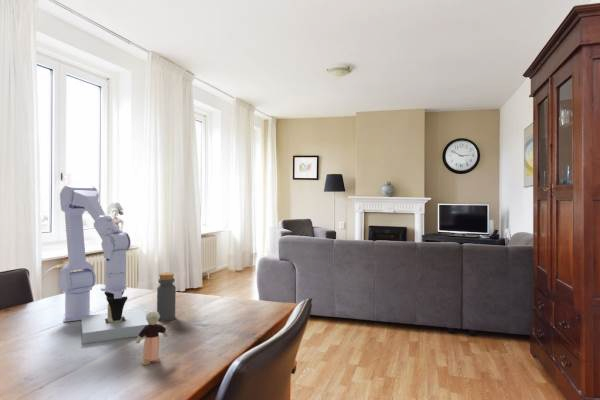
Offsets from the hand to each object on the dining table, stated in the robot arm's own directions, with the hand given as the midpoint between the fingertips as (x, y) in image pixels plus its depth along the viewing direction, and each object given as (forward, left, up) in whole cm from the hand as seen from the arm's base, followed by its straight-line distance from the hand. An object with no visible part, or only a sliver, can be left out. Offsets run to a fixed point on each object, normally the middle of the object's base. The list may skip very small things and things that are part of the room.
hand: (115, 317), depth 124 cm
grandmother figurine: (+30, +6, -4) cm, 31 cm away
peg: (0, 0, -4) cm, 4 cm away
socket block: (0, 0, -4) cm, 4 cm away
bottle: (-5, +16, -4) cm, 17 cm away
